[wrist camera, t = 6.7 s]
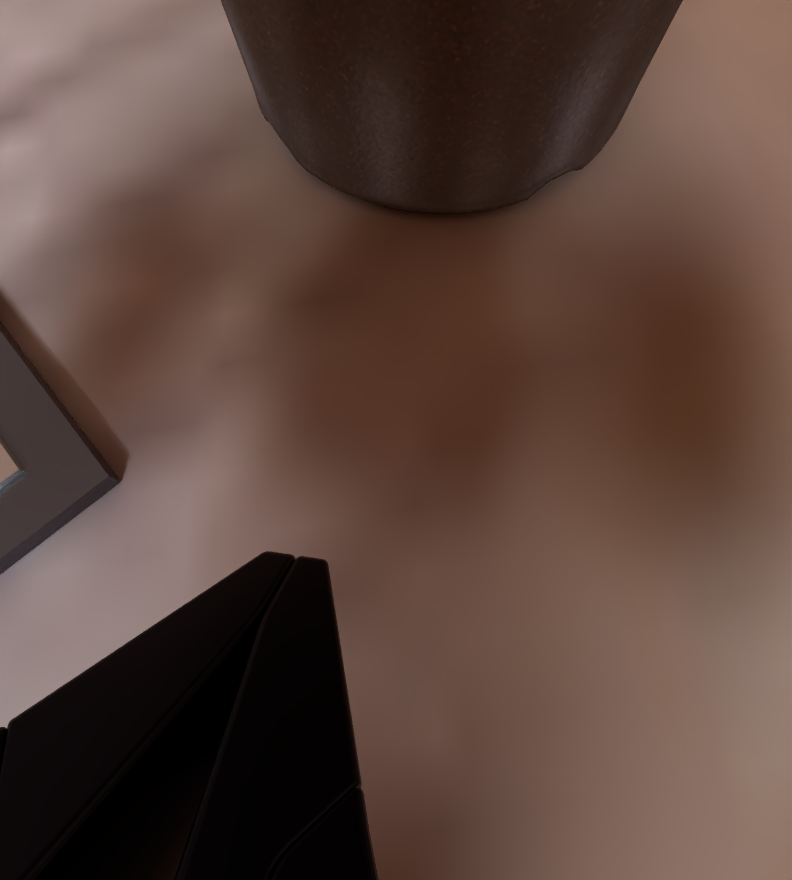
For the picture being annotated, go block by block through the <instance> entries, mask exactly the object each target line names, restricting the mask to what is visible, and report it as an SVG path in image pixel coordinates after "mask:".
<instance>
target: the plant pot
mask: <svg viewBox="0 0 792 880" xmlns="http://www.w3.org/2000/svg"><path fill="white" fill-rule="evenodd" d="M682 1H683V0H221V2H222V5H223V7H224V10H225V13H226V15H227V18H228V21H229V23H230V26H231V29H232V31H233V34H234V37H235V39H236V42H237V45H238V47H239V50H240V53H241V55H242V58H243V61H244V64H245V66H246V69H247V72H248V74H249V77H250V80H251V82H252V85H253V88H254V91H255V94H256V97H257V101H258V104H259V107H260V109H261V111H262V114H263V115H264V117H265V119H266V120H267V121H268V122H270V124H271V125H272V127H273V128H274V130H275V131H276V133H277V134H278V135H279V137H280V138H281V139H282V141H283V142H284V143H285V145H286V146H287V147H288V149H289V150H290V151H291V153H292V154H293V156H294V157H295V159H296V160H297V161H298V162H299V163H300V164H301V165H302V166H303V167H304V168H305V169H306V170H307V171H308V172H310V173H311V174H313V175H314V176H316V177H317V178H319V179H320V180H322V181H323V182H325V183H327V184H329V185H331V186H332V187H334V188H336V189H338V190H340V191H342V192H344V193H347V194H350V195H352V196H355V197H357V198H360V199H362V200H365V201H368V202H372V203H376V204H379V205H383V206H387V207H392V208H397V209H404V210H411V211H419V212H429V213H465V212H473V211H481V210H487V209H493V208H497V207H502V206H507V205H512V204H515V203H518V202H521V201H523V200H526V199H528V198H529V197H530V196H532V195H533V194H534V193H535V192H536V191H537V190H539V189H540V188H541V187H542V186H544V185H545V184H546V183H548V182H549V181H551V180H553V179H555V178H557V177H559V176H561V175H563V174H565V173H566V172H569V171H571V170H580V169H582V168H583V167H584V166H586V165H587V164H588V163H589V162H590V161H591V160H592V159H593V158H594V157H595V156H596V155H597V154H598V153H599V152H600V151H601V149H602V148H603V147H604V145H605V144H606V143H607V141H608V140H609V139H610V137H611V136H612V134H613V133H614V131H615V130H616V128H617V126H618V124H619V123H620V121H621V119H622V117H623V115H624V113H625V111H626V109H627V107H628V105H629V103H630V101H631V99H632V97H633V95H634V93H635V91H636V89H637V87H638V85H639V83H640V81H641V79H642V77H643V75H644V73H645V71H646V69H647V67H648V65H649V64H650V62H651V60H652V58H653V56H654V54H655V52H656V50H657V48H658V46H659V44H660V43H661V41H662V39H663V37H664V35H665V33H666V31H667V29H668V27H669V25H670V23H671V21H672V20H673V18H674V16H675V14H676V12H677V10H678V8H679V6H680V4H681V3H682Z"/></svg>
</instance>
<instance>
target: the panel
mask: <svg viewBox="0 0 792 880" xmlns="http://www.w3.org/2000/svg"><path fill="white" fill-rule="evenodd" d="M119 483H120V480H119V479H118V478H117V476H116V475H115V474H114V472H113V471H112V470H111V468H110V467H109V466H108V464H107V463H106V462H105V460H104V459H103V458H102V456H101V455H100V454H99V452H98V451H97V450H96V448H95V447H94V446H93V445H92V443H91V442H90V441H89V439H88V438H87V437H86V435H85V434H84V433H83V431H82V430H81V429H80V427H79V426H78V425H77V423H76V422H75V421H74V419H73V418H72V417H71V415H70V414H69V413H68V411H67V410H66V409H65V407H64V406H63V405H62V403H61V402H60V401H59V399H58V398H57V397H56V395H55V394H54V393H53V391H52V390H51V389H50V387H49V386H48V385H47V383H46V382H45V381H44V379H43V378H42V377H41V375H40V374H39V373H38V371H37V370H36V369H35V367H34V366H33V365H32V363H31V362H30V361H29V359H28V358H27V357H26V355H25V354H24V353H23V351H22V350H21V349H20V347H19V346H18V345H17V343H16V342H15V341H14V339H13V338H12V337H11V335H10V334H9V333H8V331H7V330H6V329H5V327H4V326H3V325H2V323H1V322H0V574H2V573H3V572H4V571H5V570H7V569H8V568H9V567H11V566H12V565H13V564H15V563H16V562H17V561H18V560H20V559H21V558H22V557H24V556H25V555H26V554H28V553H29V552H30V551H31V550H33V549H34V548H35V547H37V546H38V545H39V544H41V543H42V542H43V541H44V540H46V539H47V538H48V537H50V536H51V535H52V534H54V533H55V532H56V531H57V530H59V529H60V528H61V527H63V526H64V525H65V524H67V523H68V522H69V521H70V520H72V519H73V518H74V517H76V516H77V515H78V514H80V513H81V512H82V511H83V510H85V509H86V508H87V507H89V506H90V505H91V504H93V503H94V502H95V501H96V500H98V499H99V498H100V497H102V496H103V495H104V494H106V493H107V492H108V491H109V490H111V489H112V488H113V487H115V486H116V485H117V484H119Z"/></svg>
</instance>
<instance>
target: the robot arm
mask: <svg viewBox="0 0 792 880" xmlns="http://www.w3.org/2000/svg"><path fill="white" fill-rule="evenodd" d="M0 880H378V875H377V870H376V865H375V859H374V854H373V849H372V843H371V838H370V833H369V826H368V820H367V813H366V806H365V800H364V794H363V791H362V790H361V776H360V770H359V763H358V757H357V750H356V744H355V737H354V730H353V724H352V717H351V711H350V704H349V698H348V691H347V685H346V678H345V672H344V665H343V658H342V652H341V645H340V639H339V632H338V626H337V619H336V613H335V606H334V600H333V593H332V587H331V580H330V573H329V567H328V563H327V561H326V560H324V559H318V558H311V557H304V556H300V557H298V558H295V557H294V556H293V555H291V554H284V553H277V552H271V551H266V552H264V553H262V554H260V555H258V556H257V557H255V558H254V559H252V560H251V561H249V562H248V563H246V564H245V565H243V566H242V567H240V568H239V569H237V570H236V571H234V572H233V573H231V574H230V575H228V576H227V577H225V578H224V579H222V580H221V581H219V582H218V583H216V584H215V585H213V586H212V587H210V588H209V589H207V590H206V591H204V592H203V593H201V594H200V595H198V596H197V597H195V598H194V599H192V600H191V601H189V602H188V603H186V604H185V605H183V606H182V607H180V608H179V609H177V610H176V611H174V612H173V613H171V614H170V615H168V616H167V617H165V618H164V619H162V620H161V621H159V622H158V623H156V624H155V625H153V626H152V627H150V628H149V629H147V630H146V631H144V632H143V633H141V634H140V635H138V636H137V637H135V638H134V639H132V640H131V641H129V642H128V643H126V644H125V645H123V646H122V647H120V648H119V649H117V650H116V651H114V652H113V653H111V654H110V655H108V656H107V657H105V658H104V659H102V660H101V661H99V662H98V663H96V664H95V665H93V666H92V667H90V668H89V669H87V670H86V671H84V672H83V673H81V674H80V675H78V676H77V677H75V678H74V679H72V680H71V681H69V682H68V683H66V684H65V685H63V686H62V687H60V688H59V689H57V690H56V691H54V692H53V693H51V694H50V695H48V696H47V697H45V698H44V699H42V700H41V701H39V702H38V703H36V704H35V705H33V706H32V707H30V708H29V709H27V710H26V711H24V712H23V713H21V714H20V715H18V716H17V717H15V718H14V719H12V720H11V721H10V722H9V724H8V727H7V728H5V727H0Z"/></svg>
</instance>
